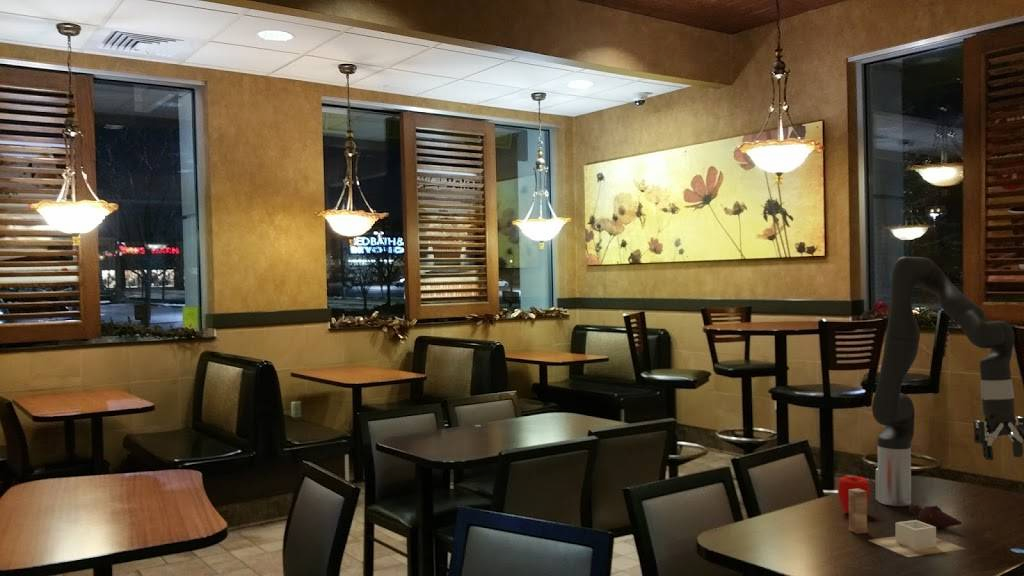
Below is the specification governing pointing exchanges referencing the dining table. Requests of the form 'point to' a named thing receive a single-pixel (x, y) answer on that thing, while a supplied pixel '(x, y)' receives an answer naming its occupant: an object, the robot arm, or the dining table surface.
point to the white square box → (915, 534)
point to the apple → (851, 483)
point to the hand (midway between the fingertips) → (1003, 458)
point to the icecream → (933, 516)
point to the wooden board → (909, 552)
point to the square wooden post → (857, 511)
